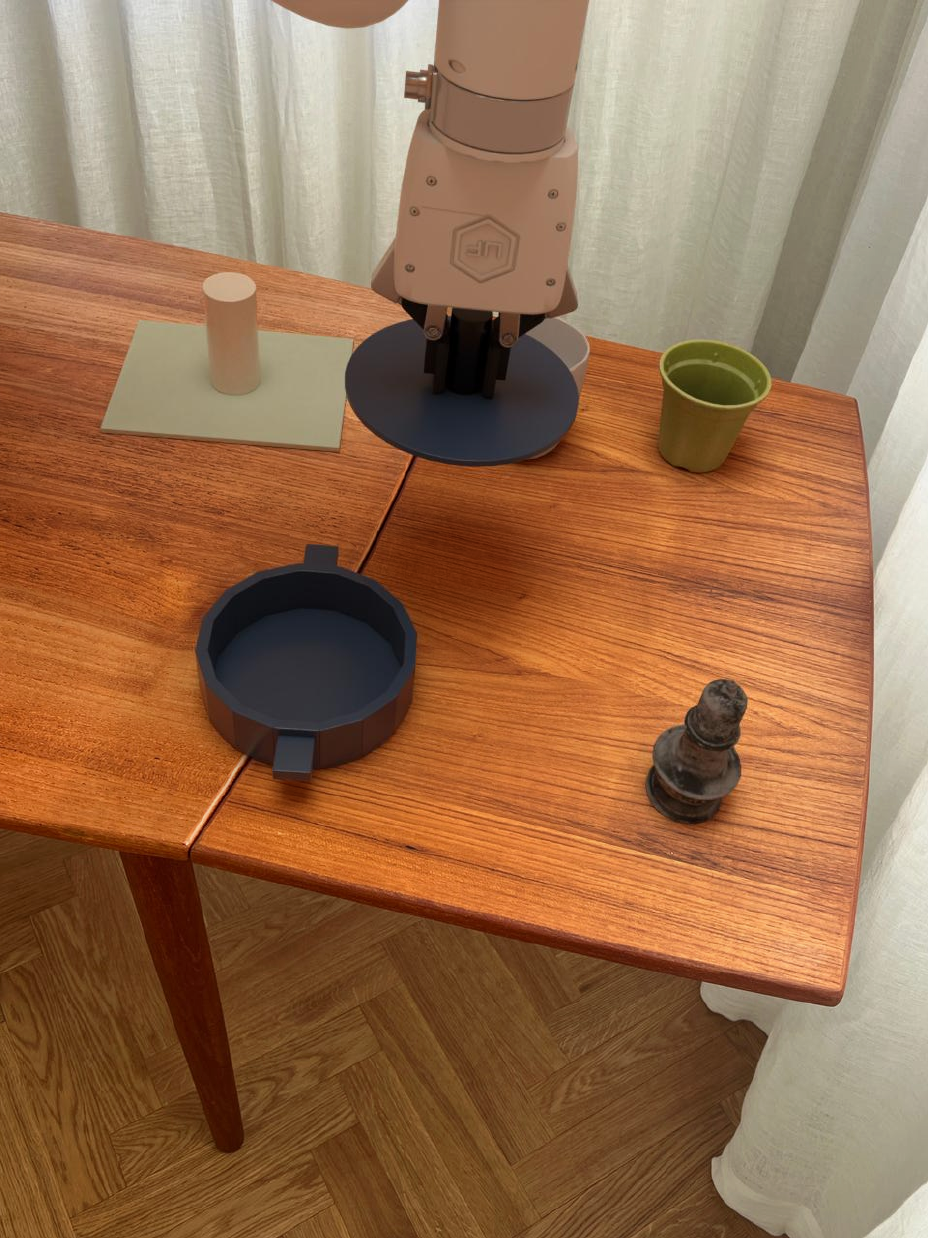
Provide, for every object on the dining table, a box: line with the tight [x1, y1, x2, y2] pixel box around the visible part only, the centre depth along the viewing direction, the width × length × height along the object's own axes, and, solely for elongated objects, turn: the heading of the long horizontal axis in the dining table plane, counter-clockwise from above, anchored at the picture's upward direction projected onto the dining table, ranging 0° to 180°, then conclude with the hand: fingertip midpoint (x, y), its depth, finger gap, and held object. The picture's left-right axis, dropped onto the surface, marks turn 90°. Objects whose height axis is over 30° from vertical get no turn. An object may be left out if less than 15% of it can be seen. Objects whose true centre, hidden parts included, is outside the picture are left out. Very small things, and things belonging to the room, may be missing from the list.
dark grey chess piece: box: [644, 678, 749, 825], centre depth 71 cm, size 6×6×12 cm
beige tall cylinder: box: [201, 271, 261, 395], centre depth 96 cm, size 4×4×10 cm
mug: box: [525, 316, 591, 460], centre depth 95 cm, size 13×9×10 cm
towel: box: [99, 319, 355, 453], centre depth 99 cm, size 20×16×1 cm
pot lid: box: [345, 308, 580, 468], centre depth 72 cm, size 16×16×7 cm
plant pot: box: [657, 339, 772, 473], centre depth 96 cm, size 9×9×9 cm
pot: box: [194, 543, 418, 782], centre depth 76 cm, size 15×20×4 cm
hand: (463, 380), depth 73 cm, fingers closed on pot lid, 2 cm apart
